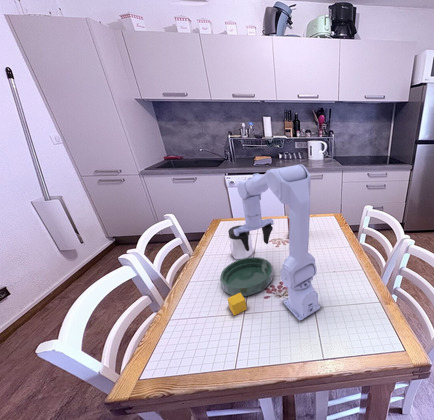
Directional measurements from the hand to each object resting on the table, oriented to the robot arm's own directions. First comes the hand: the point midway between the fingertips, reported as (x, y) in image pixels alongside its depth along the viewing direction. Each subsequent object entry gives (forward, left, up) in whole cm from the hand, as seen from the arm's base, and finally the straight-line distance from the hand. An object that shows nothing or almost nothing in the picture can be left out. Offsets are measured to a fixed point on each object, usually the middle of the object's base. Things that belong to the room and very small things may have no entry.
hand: (257, 246), depth 89 cm
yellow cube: (-15, +14, -10) cm, 23 cm away
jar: (+14, +1, -10) cm, 17 cm away
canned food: (+13, -26, -10) cm, 30 cm away
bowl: (-4, +6, -10) cm, 12 cm away
